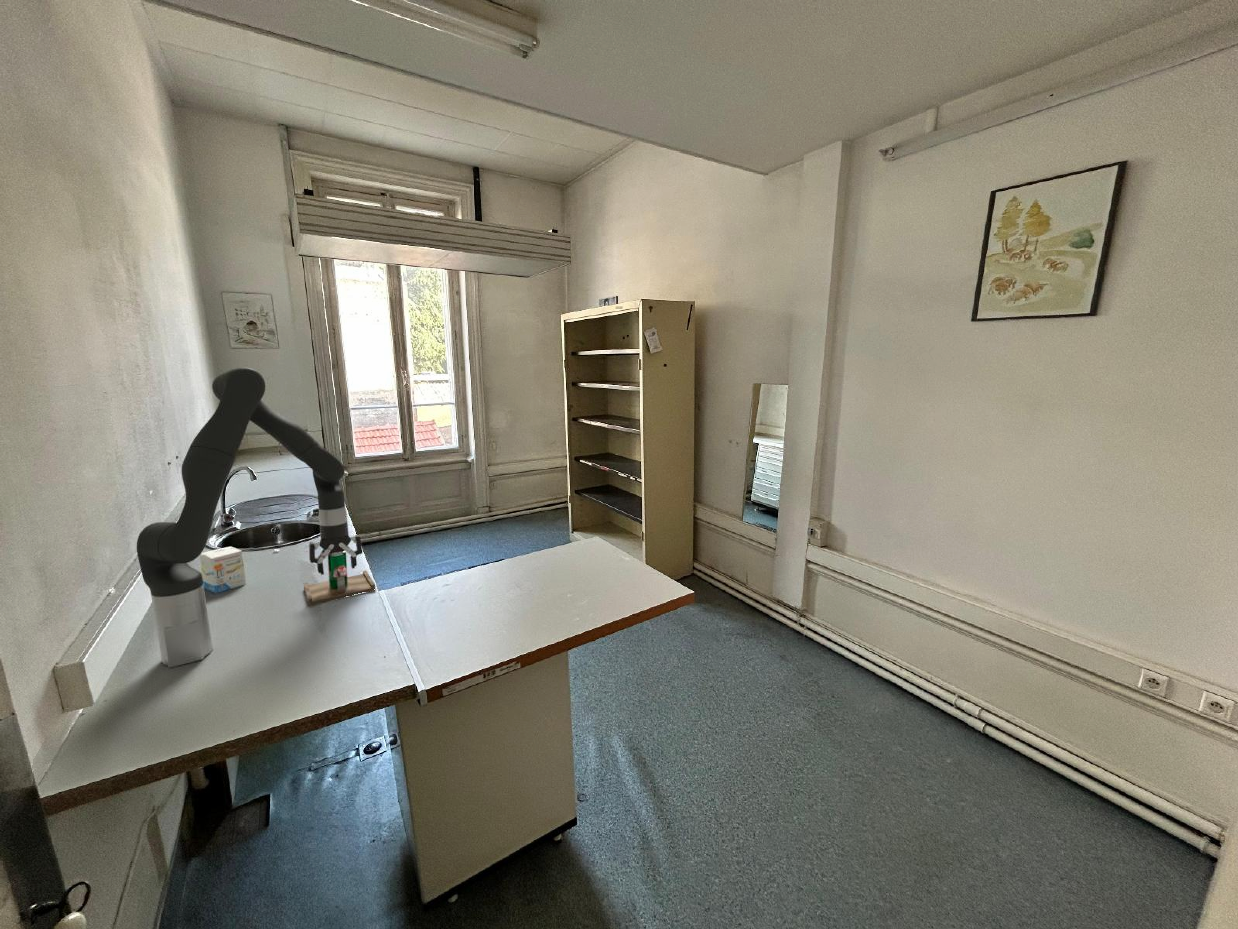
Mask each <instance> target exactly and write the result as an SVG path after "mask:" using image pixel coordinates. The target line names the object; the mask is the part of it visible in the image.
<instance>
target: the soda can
mask: <svg viewBox="0 0 1238 929" xmlns="http://www.w3.org/2000/svg"><path fill="white" fill-rule="evenodd" d="M347 562H348V561H347V552H346V551H345V550H343V551H339V552H333V553H330V554H328V555H327V569H328V570H327V571H328V581H329V586H330V588H332V589H338V585H337V577H338V576H344V579H345V586H346V585H347V584H348V579H347V577H348V564H347Z"/></svg>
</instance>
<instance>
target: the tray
mask: <svg viewBox="0 0 1238 929" xmlns="http://www.w3.org/2000/svg"><path fill="white" fill-rule="evenodd" d="M347 579H348V584H347V585H346V586H345V579H344V576H338V577H337V585H338V589H332V588H330V586H329V580H327V581H323V582H318V583H312V584H308V582H304V583H303V591H304V594H305V597H306V602H307V604H308V607H311V606H315V605H319V604H323V603H329V602H332V600H333V601H337V600H336V599H338V600H342V599H345V598H344V597H346V596H351V597H353V596H352V595H354V594H358V593H362V592H368V593H372V592H375V591H376V584H375V583H374V580H373V579H372V577H371V576H370V574H369V573H368V571H367V570H362V574H355V575H351V576H347ZM374 589H375V590H374ZM341 598H342V599H341Z"/></svg>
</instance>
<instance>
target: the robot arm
mask: <svg viewBox="0 0 1238 929" xmlns="http://www.w3.org/2000/svg"><path fill="white" fill-rule="evenodd" d="M211 385H212V386H211V389H212V392H213V394H214V396H215V397H216V399H218V400H219V403H218V406H217V408H216V410H215V411H214V412H213V414H212V415H211V417H210V418H209V419H208V420H207V422H206V423H205V424H204V425H203V426H202V428H201V429H200V430H199V432H198V433H197V435H195V437H194V438H193V440H192V442H191V443H190V445H189V448H188V450H187V452H186V454H185V457H184V459H183V461H182V464H181V478H182V483H183V486H184V492H185V500H184V505H183V508H182V510H181V514H180V515H179V517H178V519H177V522H176V521H175V522H170V521H159V522H153V523H151V524H149V525H147V526H145V527H144V528H143V529H142V530H141V532H140V533H139V535H138V536H137V537H138V538H137V540H136V553H137V559H138V563H139V566H140V571H141V575H142V579H143V582H144V584H145V585H146V586H147V587H148V588H149V590H150V597H151V601H152V609H153V614H154V615H153V616H154V620H155V626H156V632H157V638H158V646H159V650H160V657H161V663H162V664H163V665H165V666H167V667H168V668H175V667H177V666H182V665H185V664H189V663H193V662H197V661H201V660H204V658H205V657H206V656H207V655H210V653H211V652H213V646H214V645H213V640H212V633H211V627H210V621H209V620H210V619H209V614H208V606H207V600H206V593H205V588H204V585H203V577H202V572H201V571H199V570H197V569H195V568H194V567H192V566H191V565H189V564H188V563H191V562H193V561H194V560H196V559H197V558H198V557H200V554H201V553H203V551H204V549H205V547H206V545H207V542H208V539H209V536H210V533H211V528H212V525H213V521H214V517H215V513H216V510H217V507H218V504H219V501H220V498H221V495H222V493H223V491H224V487H225V484H226V482H227V480H228V477H229V475H230V473H231V471H232V469H233V468H232V467H233V466H234V463H235V461H236V458H237V455H238V451H239V450H240V446H241V444H242V442H243V439H244V436H245V433H246V431H247V428H248V425H249V422H251V423H253V424H254V425H256V426H258V427H259V428H260V429H262V430H263V431H264V432H266V433H267V434H268V435H269V436H270V437H272V438H273V439H274V440H276V441H277V442H278V443H279V444H280V445H281V446H282V447H284V449H286V450H287V451H288V452H290V453H291V454H292V455H293V456H294V457H295V458H297V459H298V460H299V461H301V462H303V463H304V464H306V465H307V467H309V468H310V470H312V477H313V481H314V485H315V489H316V492H317V504H318V525H319V533H320V534H319V535H320V540H319V541H318V542H313V541H311V542H309V543H308V548H309V549H308V550H309V551H308V552H309V555H308V556H309V557H308V558H309V562H310V563H311V564H316V568H317V572H318V573H319V574H320V575H324V574H325V570H324V560H325V559H326V558H328V554H330V553H333V552H339V551H343V550H344V551H345V552H346V554H348V555H350V566H351V569H355V567H357V565H358V563H357V562H358V561H357V556H358V555H363V547H362V541H361V537H360V535H359V534H355V535H353V536H350V534H349V524H348V514H347V509H346V501H345V493H344V490H343V489H342V487H341V485H340V484H341V483H340V480H341V479H342V478H343V477H344V475H345V471H346V470H345V466H344V465H343V463H342V462H341V461H340V460H339V458H336V457H335V456H334V455H333V454H332V453H331V452H329V451H328V450H327V449H325V448H324V447H323V446H322V445H320V443H319V442H318V441H317V440H316V439H315V438H314V437H313V436H312V435H310V434H309V433H308V432H307V431H306V430H305V429H304V428H303V427H301V426H300V425H299V424H297V423H296V422H294V421H292V420H290V419H289V418H286V417H285V416H283V415H282V414H279V413H277V412H276V411H275V410H273V409H272V408H271V407H269V406H268V405H267V404H266V403H264V401H262V399H263V397H264V395H265V392H266V382H265V379H264V377H263V375H262V374H261V373H260V372H259V371H258V370H256V369H253V368H251V367H247V366H246V367H244V366H243V367H242V366H241V367H236V368H232V369H230V370H228V371H226V372H223V373H221V374H219V375H218V376H216V377H215V378H214V380H213V381H212V384H211ZM351 541H352V542H353V543H354V544H355V547H356V548H355V549H356V550H354V549H352V548H351V547H350V546H349V544H350V543H351ZM319 547H320V548H321V549H322V550H321V552H320V554H319V555H318V557H316V551H317V550H318V548H319Z"/></svg>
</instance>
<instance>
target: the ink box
mask: <svg viewBox="0 0 1238 929" xmlns="http://www.w3.org/2000/svg"><path fill="white" fill-rule="evenodd" d="M243 558H244V557H243V551H242V550H240V549H238V548H236V547H233V546H226V547H222V548H217V549H212V550H209V551H204V552H202V553H201V554H200V555H199V562H200V568H201V574H202V577H203V585H204V590H205V589H206V590H207V591H210V592H211V593H214V594H219V593H222V592H225V591H229V590H232V589H235V588H238V587H241V586H244V585H247V581H246V574H245V573H246V572H245V564H244V559H243Z"/></svg>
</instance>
